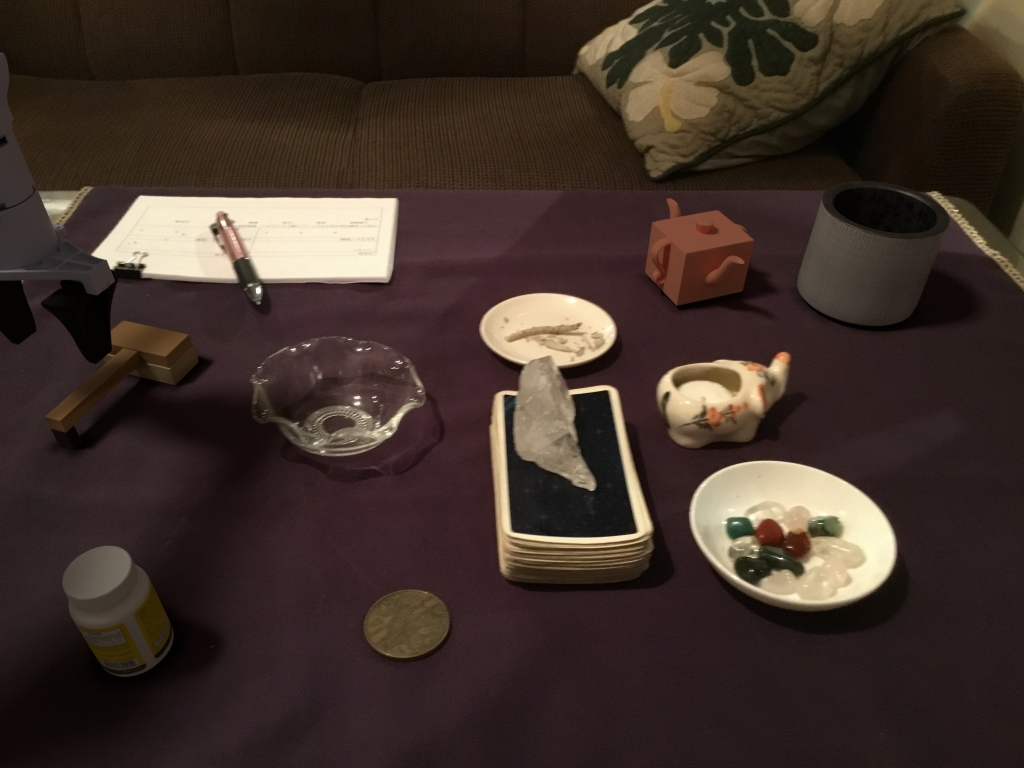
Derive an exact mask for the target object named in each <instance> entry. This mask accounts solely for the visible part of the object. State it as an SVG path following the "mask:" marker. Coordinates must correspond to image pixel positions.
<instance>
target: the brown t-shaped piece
mask: <svg viewBox="0 0 1024 768" xmlns="http://www.w3.org/2000/svg"><path fill="white" fill-rule="evenodd" d="M111 341H112V351H111V352H110V353H109V354H107V355H106V356H105V357H104V358H103V361H104V364H103V365H102V366H101V367H100V368H99V369H98V370H96V371H95V372H94V373H93V374H92V375H90V376H89V378H87V379H86V380H85V381H83V383H82V384H80V385H79V386H78V387H77V388H75V390H73V391H72V392H71V393H70V394H69V395H68V396H67V397H65V398H64V399H63V400H62V401H61V402H59V404H58V405H57V406H55V407H54V408H53V409H52V410H50V412H48V413H47V414H46V415H45V416H44V418H45V420H46V422H47V424H48V426H49V428H50V430H51V432H52V434H53V437H54V439H55V440H56V443H57V444H58V446H60V447H63V448H67V449H71V450H75V449H76V448H77V447H79V445H81V444H82V442H83V441H82V439H81V437H80V435H79V433H78V431H77V428H76V426H75V425H76V424H77V423H78V422H79V421H80V420H81V419H82V418H84V417H85V416H86V415H87V414H88V413H90V411H91V410H93V408H95V407H96V406H97V405H98V404H99V403H100V402H102V400H103V399H104V398H106V397H107V396H108V395H109V394H110V393H111V392H112V391H113V390H114V389H115V388H116V387H117V386H119V385H120V383H122V382H123V381H124V380H125V379H126V378H127V377H128V376H134V377H137V378H142V379H147V380H150V381H155V382H160V383H164V384H168V385H171V386H177V384H178V383H179V382H180V381H181V380H183V379H184V378H185V377H186V376H187V374H188V373H190V372H191V370H192V369H193V368H195V366H196V365H197V364H199V362H200V361H199V358H198V355H197V351H196V348H195V346H194V345H193V343H192V340H191V337H190V334H188V333H182V332H178V331H174V330H170V329H166V328H162V327H155V326H151V325H147V324H142V323H137V322H134V321H129V320H122V321H120V323H118V324H117V325H116V326H114V327H113V328H112V329H111Z"/></svg>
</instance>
